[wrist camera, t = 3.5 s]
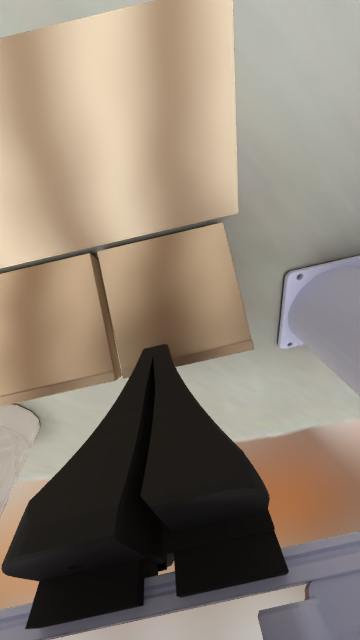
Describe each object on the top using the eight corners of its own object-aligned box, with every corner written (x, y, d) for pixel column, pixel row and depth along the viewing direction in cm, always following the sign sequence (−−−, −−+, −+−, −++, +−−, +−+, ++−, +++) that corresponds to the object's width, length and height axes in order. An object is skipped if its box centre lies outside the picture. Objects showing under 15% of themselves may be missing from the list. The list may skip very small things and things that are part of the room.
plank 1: (98, 260, 13) (88, 252, 12) (121, 375, 13) (115, 380, 11) (-15, 286, 13) (-36, 281, 12) (5, 401, 13) (-15, 409, 11)
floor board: (222, 8, 8) (231, -18, 7) (231, 212, 13) (238, 213, 12) (-168, 103, 9) (-212, 89, 8) (-31, 273, 13) (-46, 279, 12)
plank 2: (219, 232, 13) (223, 221, 12) (247, 347, 13) (254, 349, 11) (105, 258, 13) (96, 250, 12) (129, 373, 13) (123, 378, 11)
